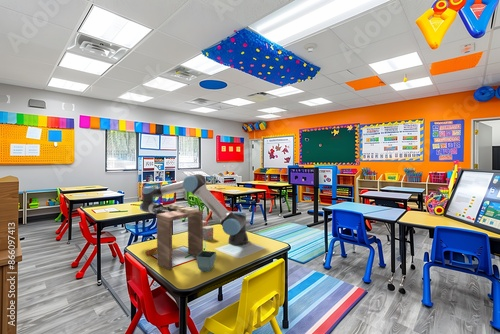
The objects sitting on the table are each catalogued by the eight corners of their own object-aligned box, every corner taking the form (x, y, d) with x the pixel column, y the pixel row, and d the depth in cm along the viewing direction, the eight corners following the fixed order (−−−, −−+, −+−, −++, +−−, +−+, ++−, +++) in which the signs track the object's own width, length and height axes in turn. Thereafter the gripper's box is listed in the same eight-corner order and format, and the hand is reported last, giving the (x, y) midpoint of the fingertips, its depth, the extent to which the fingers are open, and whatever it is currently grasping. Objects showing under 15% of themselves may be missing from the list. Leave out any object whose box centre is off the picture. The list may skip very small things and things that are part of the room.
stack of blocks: (213, 238, 189) (213, 223, 189) (206, 240, 185) (206, 224, 185) (199, 233, 205) (199, 218, 204) (192, 234, 200) (192, 220, 200)
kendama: (143, 248, 157) (165, 237, 175) (145, 257, 157) (167, 245, 175) (149, 248, 154) (171, 237, 172) (151, 257, 154) (173, 245, 172)
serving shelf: (190, 252, 160) (189, 207, 160) (203, 257, 151) (203, 210, 151) (156, 264, 142) (156, 214, 141) (169, 270, 133) (169, 217, 132)
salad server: (166, 208, 159) (166, 204, 159) (175, 206, 165) (175, 203, 165) (189, 213, 143) (189, 209, 143) (198, 211, 148) (198, 208, 148)
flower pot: (211, 273, 129) (210, 257, 129) (195, 272, 131) (195, 256, 131) (216, 266, 138) (216, 251, 137) (202, 265, 139) (202, 250, 139)
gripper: (169, 211, 188) (188, 214, 178) (141, 215, 167) (161, 219, 156) (169, 202, 188) (189, 204, 178) (141, 204, 167) (162, 208, 156)
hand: (176, 211), depth 167 cm, fingers open, 13 cm apart
